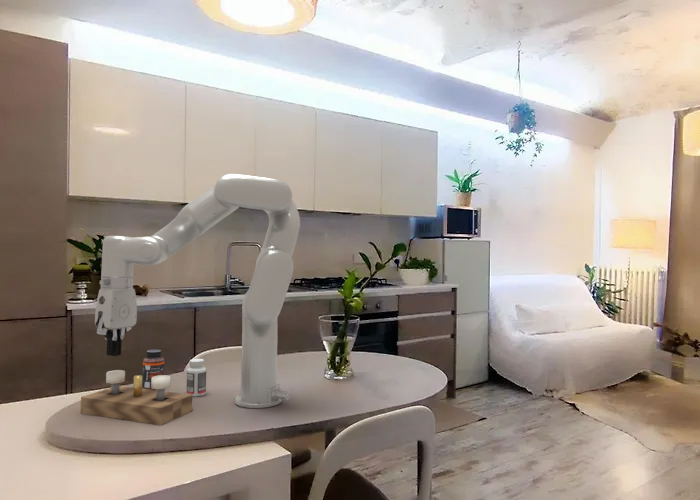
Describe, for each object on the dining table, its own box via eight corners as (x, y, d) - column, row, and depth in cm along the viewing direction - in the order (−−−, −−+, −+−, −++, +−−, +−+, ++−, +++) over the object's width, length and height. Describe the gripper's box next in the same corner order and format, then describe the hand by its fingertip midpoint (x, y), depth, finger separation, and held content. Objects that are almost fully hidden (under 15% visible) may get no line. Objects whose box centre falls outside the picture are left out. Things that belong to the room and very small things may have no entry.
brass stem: (143, 395, 129) (143, 375, 129) (137, 397, 127) (138, 377, 127) (137, 394, 130) (137, 374, 130) (131, 396, 128) (131, 376, 128)
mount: (192, 410, 130) (192, 394, 130) (160, 425, 119) (161, 408, 119) (116, 400, 138) (117, 385, 138) (80, 413, 126) (81, 397, 126)
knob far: (128, 394, 132) (128, 371, 132) (115, 399, 128) (116, 374, 128) (114, 393, 133) (115, 369, 133) (101, 397, 129) (102, 373, 129)
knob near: (173, 400, 127) (174, 376, 127) (161, 405, 123) (162, 380, 123) (159, 398, 129) (159, 374, 129) (147, 403, 125) (147, 378, 125)
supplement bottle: (149, 392, 146) (149, 353, 146) (137, 389, 149) (138, 350, 149) (167, 388, 150) (168, 350, 150) (156, 385, 154) (157, 347, 154)
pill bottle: (205, 391, 148) (205, 357, 149) (206, 396, 143) (207, 361, 143) (185, 392, 147) (186, 358, 147) (186, 397, 142) (187, 362, 142)
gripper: (106, 285, 122) (102, 362, 122) (149, 283, 137) (146, 351, 136) (82, 284, 125) (78, 358, 125) (126, 282, 139) (123, 349, 139)
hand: (113, 355), depth 130 cm, fingers closed
